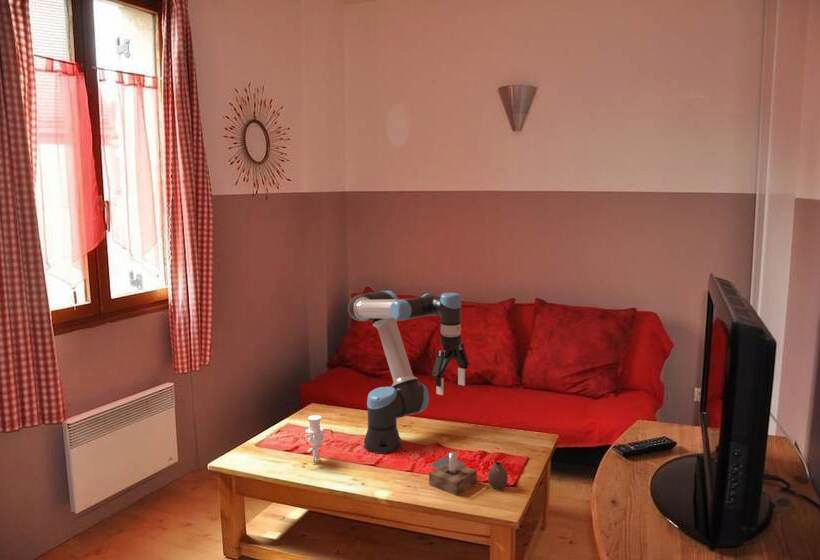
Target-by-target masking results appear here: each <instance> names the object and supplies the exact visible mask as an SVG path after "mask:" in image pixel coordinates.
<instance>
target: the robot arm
mask: <svg viewBox="0 0 820 560" xmlns="http://www.w3.org/2000/svg"><path fill="white" fill-rule="evenodd" d="M347 312H348V315H349V316H350V317H351V318H352V319H353V320H355V321H357V322H368V321H369V322H370V321H371V324H372V327H374V328H376V329H377V332H378V336H379V338H380V341H381V345H382V347H383V348H382V349H383V351H384V356H385V358H386V361H387V364H388V367H389V368H388V369H389V371H390V375H391V378H392V382H393V383H392V384H391V386H380V387H376V388H374V389H373V390H371V391H369V393H368V395H367V402H366V407H367V430H366V433H365V437H364V439H363V440H364V441H363V447H364V449H365V450H366V449H367V450H366V451H368V450H369V451H368V452H370V451H371V452H370V453H373V452H378V453H377V454H388V453H387V452H390V453H394V452H396V451H398V450H400V449H401V448H402V439H401V436H400V433H399V430H398V425H397V424H398V421H397V420H398V419H400V418H403V417H407V416H412V415H417V414H418V413H421V412H424V411H425V410H426V409H427V408H428V406H429V400H430V395H429V390H428V388H427V386H426V385H425V384H424V383H422V382H419V378H418V377H416V376H414V374H413V371H412V369H411V365H410V361H409V358H408V355H407V352H406V349H405V345H404V342H403V339H402V336H401V332H400V329H399V326H398V323H397V322H399V321H402V322H403V321H407V320H413V319H418V318H423V317H429V316H437V317H440V334H441V335H440V344H441V346H442V350H438V349H437V351H436V358H435V362H434V365H433V369H432V373H431V377H433V378H435V387H436V389H435V390H436V391H435V393H436V395H439V396H444V377H443V376H444V373H445V371H446V368H447V367H448V364H449V363H450V362H451V361H452V360H454V361H455V362H456V364H457V365H458V368H457V385H459V386H463V387H464V386H466V370H467V369H468V368H469V366H470V362H469V358H468V357H467V356H468V355H467V352H466V350H465V344H464V343H462V335H461V332H462V326H461V325H462V297H461V295H460V293H459V292H458V293H457V292H443V293H441V295H437V294H434V293H424V294H423V295H421V296H418V297H411V298H400V299H399V297H398V296H397V294H395V292H393V291H391V290H379V291H375V292H374V291H373V292H367V293H360V294H357V295H355V296H353V297H351V298H350V300H349V302H348V304H347ZM393 451H394V452H393ZM385 452H386V453H385Z"/></svg>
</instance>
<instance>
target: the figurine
mask: <svg viewBox="0 0 820 560" xmlns="http://www.w3.org/2000/svg"><path fill="white" fill-rule="evenodd" d="M307 419H308V421H309V428H306V429H305V433H306V434H305V435H304V434H303V435H304V437H305V438H304V440H307V444H309V445H311V446H312V447H310V448H308V449H307V451H306V452H307V453H311V452H312V462H311V463H312V464H315V463H317V462H319V459H321V456H320V449H319V446H321V445H323V444H324V437H323V436H324V435H323V434H325V433H326V431H325V430H326V428H324V427H323V425H321V424H320V423H321V420H322V416H321V415H319V414H312V415H309V416H308V417H307Z"/></svg>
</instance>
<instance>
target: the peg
mask: <svg viewBox="0 0 820 560" xmlns="http://www.w3.org/2000/svg"><path fill="white" fill-rule="evenodd" d="M448 457H449V474H450V475H453V476H455V475H457V460H458V452H457V451H452V450H451V451H449V452H448Z"/></svg>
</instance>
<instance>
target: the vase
mask: <svg viewBox="0 0 820 560" xmlns="http://www.w3.org/2000/svg"><path fill="white" fill-rule="evenodd" d="M487 479H488V484H489V485H490V486H491V488H493V489H494V490H502V489H503V488H505V487H506V486H507V483H508V480H509V475H508V471H507V469H506V467H504V465H503V463H502V462H501V461H495V462H494V464H493V465H492V467H490V469H489V470H488V474H487Z"/></svg>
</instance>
